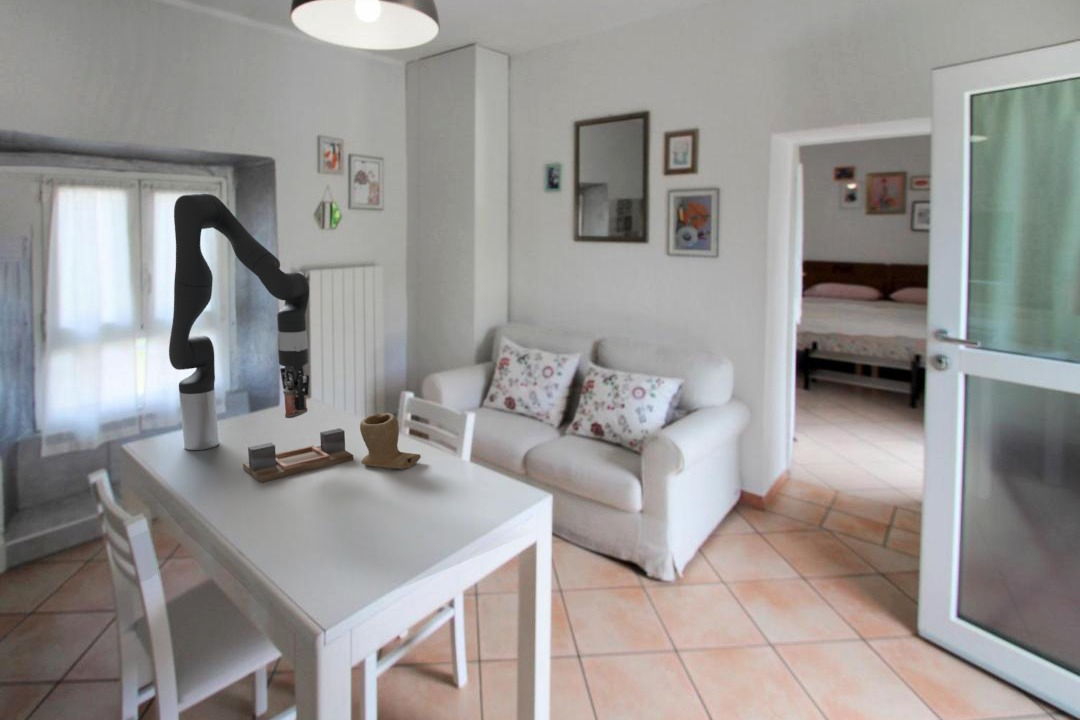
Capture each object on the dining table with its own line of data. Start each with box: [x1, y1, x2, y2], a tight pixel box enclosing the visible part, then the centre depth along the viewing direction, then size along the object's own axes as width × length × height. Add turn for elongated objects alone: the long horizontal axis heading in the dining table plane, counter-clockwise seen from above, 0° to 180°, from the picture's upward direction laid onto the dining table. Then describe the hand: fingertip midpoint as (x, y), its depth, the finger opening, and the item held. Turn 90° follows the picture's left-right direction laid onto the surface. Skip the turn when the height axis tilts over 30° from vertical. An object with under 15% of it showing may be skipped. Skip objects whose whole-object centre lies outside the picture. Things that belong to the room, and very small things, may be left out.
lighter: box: [282, 381, 308, 419], centre depth 171 cm, size 8×3×10 cm, turn 167°
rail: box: [242, 428, 354, 484], centre depth 174 cm, size 13×26×8 cm, turn 134°
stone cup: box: [359, 412, 422, 470], centre depth 173 cm, size 15×12×15 cm
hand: (296, 407), depth 171 cm, fingers closed on lighter, 4 cm apart
